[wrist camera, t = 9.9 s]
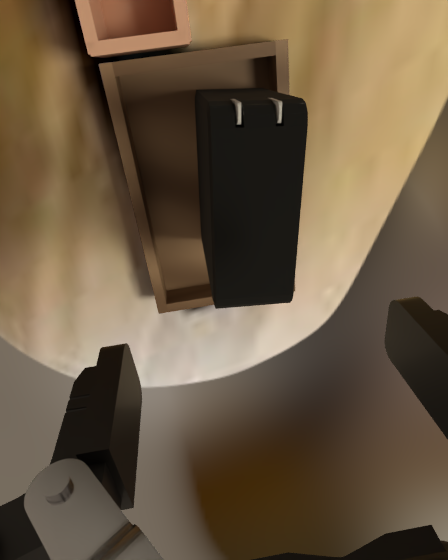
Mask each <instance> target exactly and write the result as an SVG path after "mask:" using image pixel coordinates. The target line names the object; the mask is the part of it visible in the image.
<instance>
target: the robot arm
mask: <svg viewBox="0 0 448 560" xmlns="http://www.w3.org/2000/svg"><path fill="white" fill-rule="evenodd" d="M385 348H386V352H387V354H388V357H389V358H390V360H391V362H392V363H393V364H394V366H395V367H396V369H397V370H398V371H399V372H400V374H401V375H402V377H403V378H404V379H405V381H406V382H407V384H408V385H409V386H410V388H411V389H412V391H413V392H414V393H415V395H416V396H417V398H418V399H419V400H420V402H421V403H422V405H423V406H424V407H425V409H426V410H427V411H428V413H429V414H430V416H431V417H432V418H433V420H434V421H435V423H436V424H437V425H438V427H439V428H440V429H441V431H442V432H443V434H444V435H445V436H446V438H447V439H448V315H447V314H446V313H444V312H442V311H440V310H435V311H434V310H433V309H432V308H430V306H429V305H428V304H427V303H426V302H424V301H423V300H422V299H421V298H420V297H411V298H404V299H398V300H393V301H391V303H390V305H389V311H388V319H387V327H386V334H385ZM141 405H142V392H141V385H140V380H139V377H138V374H137V370H136V367H135V364H134V361H133V357H132V354H131V351H130V348H129V346H128V344H127V343H126V344H120V345H114V346H108V347H102V348H101V349H100V352H99V357H98V361H97V365H96V366H94V367H88V368H85V369H84V370H83V371H82V373H81V374H80V375H79V376H78V378H77V379H76V380H75V382H74V384H73V388H72V391H71V394H70V400H69V401H68V405H67V408H66V413H65V415H64V419H63V422H62V426H61V429H60V432H59V436H58V439H57V443H56V446H55V450H54V453H53V457H52V460H51V463H50V465H49V466H47V467H46V468H45V469H43V470H42V471H41V472H40V473H39V474H38V475H37V476H36V477H35V478H34V479H33V481H32V482H31V484H30V485H29V487H28V489H27V491H26V493H25V494H23V495H22V496H20V497H18V498H16V499H15V500H12V501H10V502H8V503H6V504H4V505H2V506H0V560H164V559H163V558H162V557H161V555H160V554H159V553H158V551H157V550H156V549H155V547H154V546H153V545H152V544H151V542H150V541H149V540H148V538H147V537H146V536H145V535H144V533H143V532H142V531H141V530H140V528H139V527H138V526H137V525H135V524H134V525H132V524H131V523H130V522H129V520H128V519H127V518H126V516H125V515H124V514H123V513H122V511H121V510H124V509H129V508H133V507H134V495H135V482H136V469H137V457H138V444H139V431H140V418H141ZM253 560H448V542H446V541H440V539H439V538H438V536H437V534H436V532H435V530H434V529H433V527H432V525H428V526H423V527H418V528H413V529H407V530H403V531H397V532H392V533H387V534H384V535H382V536H380V537H379V538H377V539H375V540H373V541H372V542H370V543H368V544H366V545H364V546H363V547H361V548H359V549H357V550H356V551H354V552H352V553H350V554H348V555H347V556H344V557H326V556H317V555H307V554H297V553H284V554H279V555H273V556H268V557H263V558H259V559H253Z"/></svg>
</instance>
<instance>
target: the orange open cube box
mask: <svg viewBox="0 0 448 560" xmlns="http://www.w3.org/2000/svg"><path fill="white" fill-rule="evenodd" d="M75 3H76V7H77V11H78V15H79V19H80V23H81V27H82V31H83V35H84V39H85V43H86V47H87V51H88V55H91V57H102V58H108V57H116V56H123V55H131V54H139V53H146V52H154V51H162V50H169V49H177V48H185V47H187V46H188V45H189V44H190V42H191V41H192V39H191V31H190V24H189V16H188V8H187V1H186V0H75Z"/></svg>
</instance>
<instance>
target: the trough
mask: <svg viewBox="0 0 448 560" xmlns="http://www.w3.org/2000/svg"><path fill="white" fill-rule="evenodd" d="M99 68H100V72H101V76H102V80H103V84H104V89H105V93H106V97H107V101H108V105H109V109H110V113H111V118H112V122H113V126H114V130H115V134H116V138H117V142H118V147H119V151H120V155H121V159H122V163H123V167H124V171H125V176H126V180H127V184H128V188H129V192H130V196H131V200H132V205H133V209H134V213H135V217H136V221H137V225H138V229H139V234H140V238H141V242H142V246H143V250H144V254H145V258H146V263H147V267H148V271H149V275H150V279H151V283H152V287H153V291H154V296H155V300H156V304H157V308H158V312H159V313H165V312H171V311H177V310H183V309H190V308H196V307H202V306H208V305H214V302H213V298H212V293H211V287H210V282H209V277H208V271H207V266H206V260H205V255H204V250H203V244H202V238H201V224H200V203H199V182H198V161H197V140H196V119H195V94H196V90H202V89H243V88H264V89H268V90H272V91H275V92H279V93H283V94H287V95H289V62H288V39H284V40H276V41H269V42H261V43H254V44H246V45H238V46H231V47H223V48H216V49H208V50H200V51H193V52H185V53H178V54H170V55H162V56H155V57H147V58H140V59H132V60H124V61H117V62H109V63H102V64H99ZM294 291H295V280H294Z"/></svg>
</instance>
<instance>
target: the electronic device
mask: <svg viewBox="0 0 448 560" xmlns="http://www.w3.org/2000/svg"><path fill="white" fill-rule="evenodd" d="M195 119H196V140H197V161H198V182H199V203H200V224H201V238H202V244H203V250H204V255H205V260H206V266H207V271H208V277H209V282H210V287H211V293H212V298H213V302H214V305H215V308H229V307H241V306H253V305H266V304H278V303H290V302H291V301H292V298H293V292H294V280H295V268H296V256H297V245H298V233H299V221H300V209H301V197H302V185H303V173H304V162H305V150H306V138H307V126H308V112H307V107H306V103H305V101H304V100H303V99H302V98H298V97H294V96H290V95H287V94H283V93H279V92H275V91H272V90H268V89H264V88H243V89H202V90H196V94H195Z"/></svg>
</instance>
